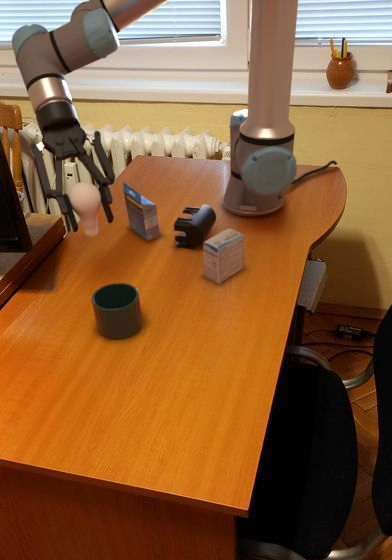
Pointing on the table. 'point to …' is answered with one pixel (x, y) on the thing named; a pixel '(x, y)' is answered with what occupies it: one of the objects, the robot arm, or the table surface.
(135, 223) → the label tape box
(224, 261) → the medicine box
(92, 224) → the lightbulb
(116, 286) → the pen cup
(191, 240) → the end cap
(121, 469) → the table surface
